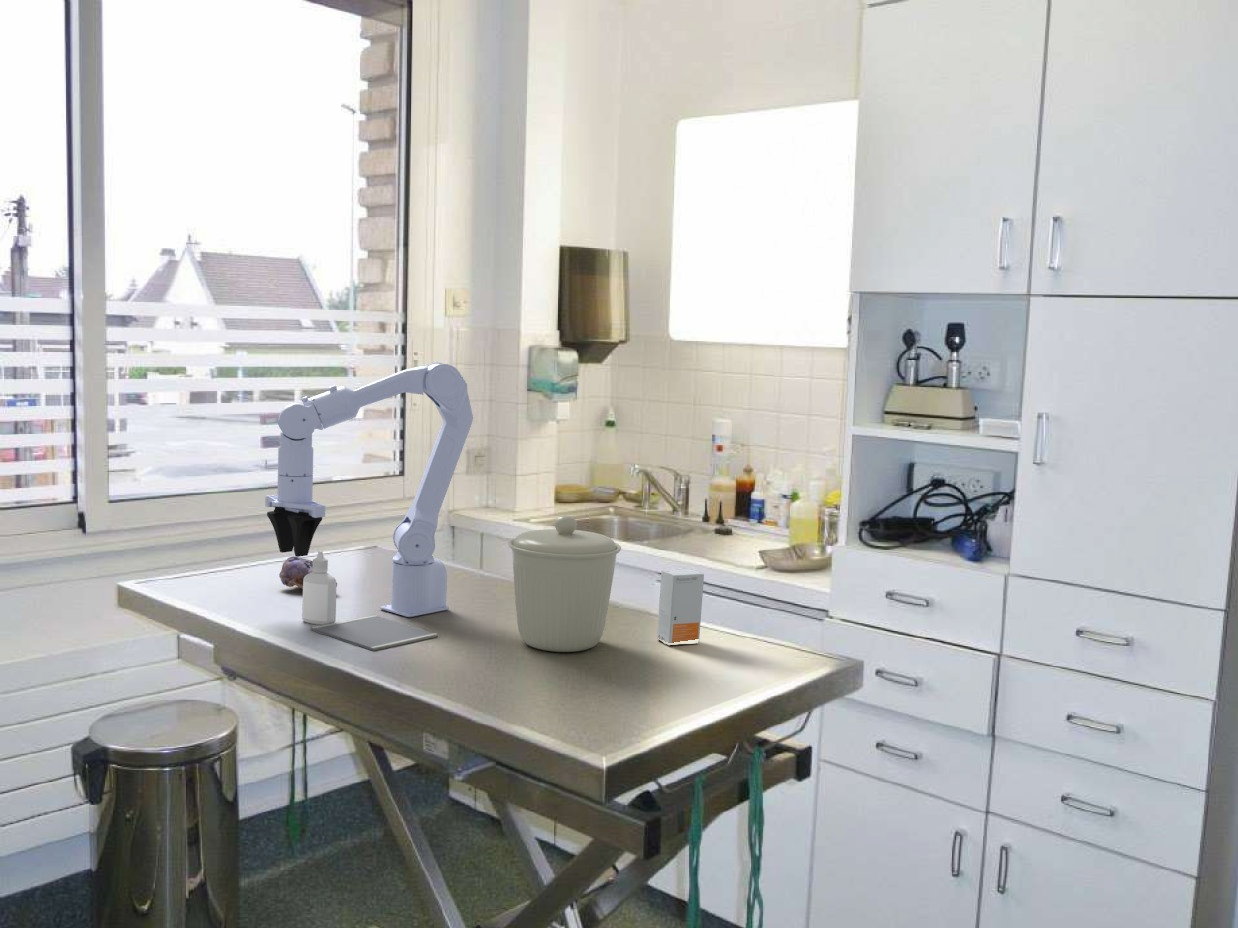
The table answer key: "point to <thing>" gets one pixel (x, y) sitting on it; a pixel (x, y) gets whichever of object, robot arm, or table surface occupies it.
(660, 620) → the skincare box
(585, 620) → the canister
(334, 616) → the eye dropper bottle
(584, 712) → the table surface
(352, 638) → the mat
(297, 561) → the skull
